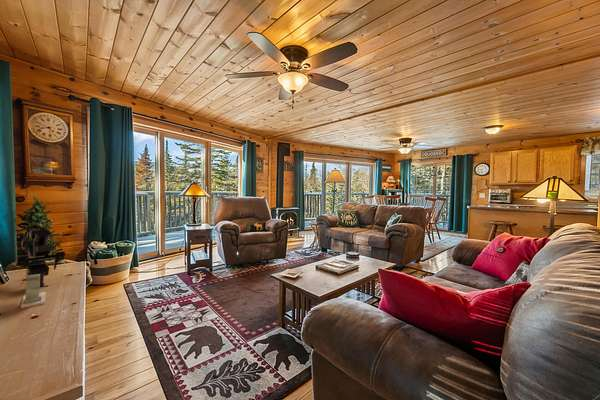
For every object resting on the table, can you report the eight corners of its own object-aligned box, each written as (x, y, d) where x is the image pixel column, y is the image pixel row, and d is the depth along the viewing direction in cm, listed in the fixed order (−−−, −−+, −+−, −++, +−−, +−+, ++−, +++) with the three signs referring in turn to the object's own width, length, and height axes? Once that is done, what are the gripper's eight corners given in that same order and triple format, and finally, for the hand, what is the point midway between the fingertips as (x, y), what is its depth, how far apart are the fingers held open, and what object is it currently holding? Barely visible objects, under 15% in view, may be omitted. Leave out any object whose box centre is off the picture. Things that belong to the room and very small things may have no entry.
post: (26, 299, 125) (27, 275, 125) (39, 297, 129) (40, 273, 128) (25, 302, 122) (26, 277, 122) (38, 300, 125) (39, 276, 125)
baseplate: (23, 297, 131) (24, 295, 131) (45, 293, 136) (45, 291, 136) (21, 308, 119) (21, 305, 119) (44, 303, 125) (44, 300, 125)
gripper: (17, 241, 130) (19, 266, 124) (65, 237, 145) (69, 259, 138) (15, 253, 135) (16, 277, 128) (62, 248, 150) (65, 270, 143)
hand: (43, 270), depth 134 cm, fingers open, 9 cm apart
